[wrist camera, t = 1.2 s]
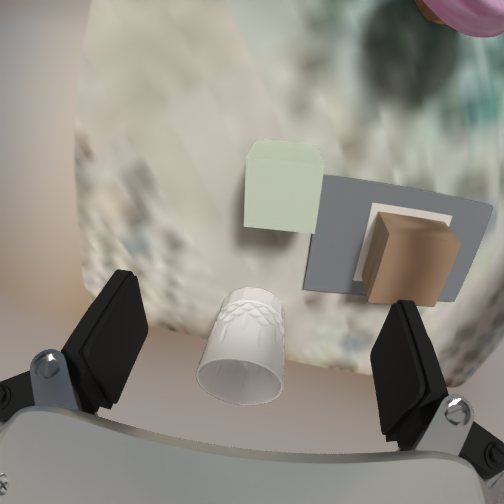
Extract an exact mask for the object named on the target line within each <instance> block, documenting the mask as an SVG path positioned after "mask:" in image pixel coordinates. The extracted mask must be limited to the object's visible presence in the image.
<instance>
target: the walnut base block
mask: <svg viewBox="0 0 504 504" xmlns="http://www.w3.org/2000/svg"><path fill="white" fill-rule="evenodd" d="M460 246H461V243H460V241H459V240H458V239H457V237H456V236H455V235H454V233H453V232H452V231H451V229H450V228H449V227H448V226H447V224H446V223H445V222H443V221H437V220H431V219H425V218H419V217H413V216H407V215H400V214H394V213H387V212H380V211H378V215H377V219H376V223H375V227H374V231H373V235H372V239H371V243H370V247H369V251H368V254H367V258H366V261H365V265H364V269H363V272H362V275H361V276H362V280H363V284H364V288H365V292H366V297H367V301H368V303H381V304H393V303H396V302H397V301H398V300H413V301H414V302H415V304H416V306H426V307H434V306H435V304H436V302H437V300H438V298H439V295H440V293H441V291H442V289H443V287H444V285H445V282H446V280H447V278H448V276H449V273H450V271H451V269H452V266H453V264H454V261H455V259H456V256H457V254H458V251H459V249H460Z"/></svg>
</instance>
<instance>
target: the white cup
mask: <svg viewBox="0 0 504 504" xmlns="http://www.w3.org/2000/svg"><path fill="white" fill-rule="evenodd" d="M284 336H285V333H284V311H283V307H282V303H281V302H280V301H279V300H278V299H277V298H276V296H275V295H274V294H272V293H270V292H268V291H266V290H263V289H261V288H252V287H244V288H241V289H238V290H235V291H233V292H232V293H231V294H229V295H228V296H227V297H226V298H225V300H224V303H223V306H222V308H221V311H220V314H219V316H218V317H217V319H216V321H215V324H214V327H213V329H212V331H211V334H210V336H209V339H208V341H207V344H206V347H205V350H204V352H203V355H202V358H201V360H200V363H199V366H198V368H197V371H196V379H197V381H198V383H199V385H200V386H201V387H202V388H203V389H204V390H205V391H206V392H207V393H209V394H210V395H212V396H214V397H216V398H218V399H220V400H223V401H225V402H229V403H233V404H238V405H260V404H265V403H268V402H270V401H273V400H275V399H276V398H278V397H279V396H280V395H281V393H282V391H283V383H284V352H285V343H284Z"/></svg>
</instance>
